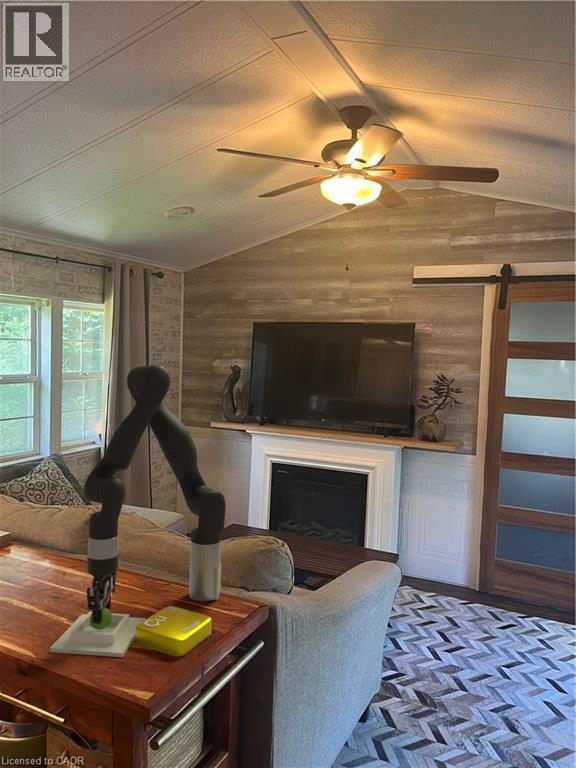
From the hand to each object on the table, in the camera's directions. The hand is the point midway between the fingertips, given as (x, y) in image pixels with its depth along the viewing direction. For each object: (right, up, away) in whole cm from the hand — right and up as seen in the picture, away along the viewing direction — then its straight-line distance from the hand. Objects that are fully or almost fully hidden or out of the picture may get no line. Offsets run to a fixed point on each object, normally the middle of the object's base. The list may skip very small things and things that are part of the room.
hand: (101, 617), depth 141 cm
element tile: (+18, -6, +1) cm, 20 cm away
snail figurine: (0, -3, +1) cm, 3 cm away
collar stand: (0, -5, 0) cm, 5 cm away
